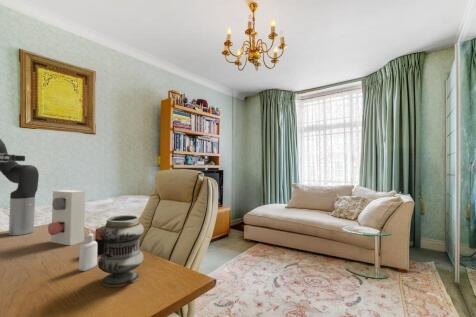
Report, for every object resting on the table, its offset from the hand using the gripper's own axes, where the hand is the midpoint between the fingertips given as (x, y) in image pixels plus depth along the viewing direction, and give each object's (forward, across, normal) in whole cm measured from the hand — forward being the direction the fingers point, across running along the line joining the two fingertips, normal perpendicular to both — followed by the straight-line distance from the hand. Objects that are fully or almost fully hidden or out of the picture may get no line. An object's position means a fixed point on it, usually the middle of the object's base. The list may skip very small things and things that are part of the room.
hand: (23, 158), depth 102 cm
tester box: (+11, -12, +36) cm, 40 cm away
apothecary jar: (-8, -62, +36) cm, 72 cm away
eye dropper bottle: (-5, -46, +36) cm, 59 cm away
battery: (+8, -38, +36) cm, 53 cm away
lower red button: (+8, -12, +31) cm, 35 cm away
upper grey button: (+9, -12, +21) cm, 26 cm away
